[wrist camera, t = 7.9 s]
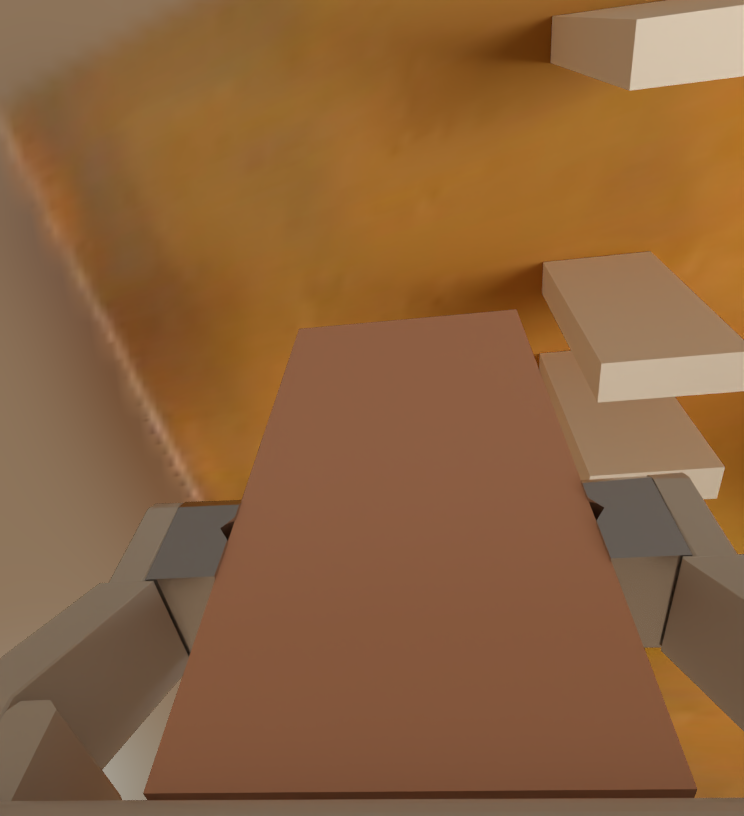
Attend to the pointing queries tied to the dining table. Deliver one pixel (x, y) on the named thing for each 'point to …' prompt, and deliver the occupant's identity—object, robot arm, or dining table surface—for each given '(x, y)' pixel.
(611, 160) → the dining table surface
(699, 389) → the domino
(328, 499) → the domino
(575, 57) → the domino end
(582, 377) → the domino
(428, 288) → the dining table surface
